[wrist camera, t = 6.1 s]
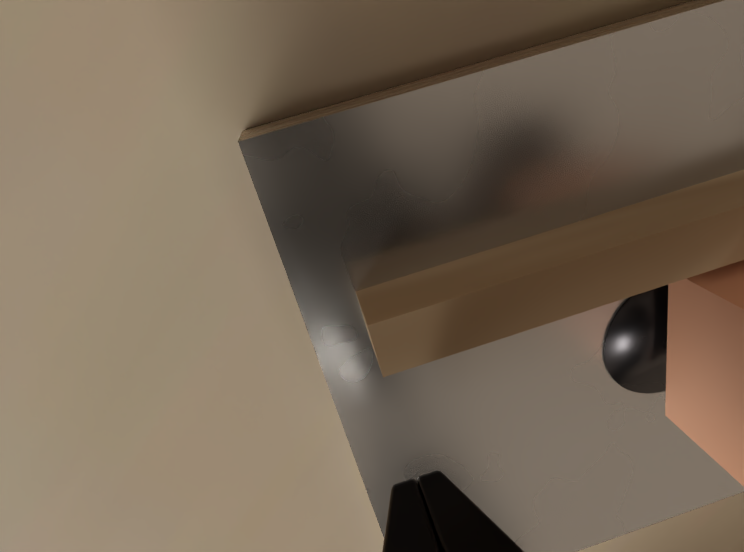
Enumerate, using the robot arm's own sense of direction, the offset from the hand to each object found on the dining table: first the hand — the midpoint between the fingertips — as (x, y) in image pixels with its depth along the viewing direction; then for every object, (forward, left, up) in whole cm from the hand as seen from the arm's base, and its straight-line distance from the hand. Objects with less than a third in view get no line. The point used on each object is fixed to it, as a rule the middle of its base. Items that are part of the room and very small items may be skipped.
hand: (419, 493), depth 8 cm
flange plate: (0, -9, -3) cm, 9 cm away
